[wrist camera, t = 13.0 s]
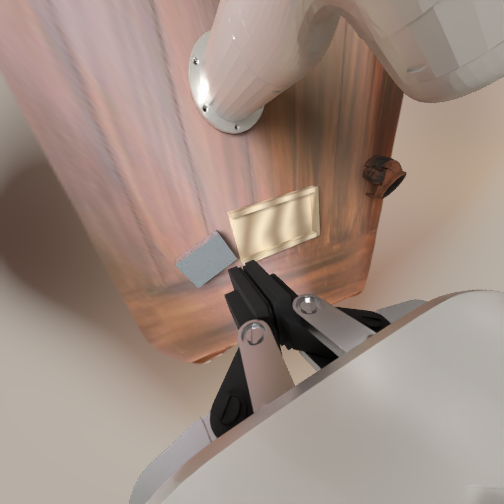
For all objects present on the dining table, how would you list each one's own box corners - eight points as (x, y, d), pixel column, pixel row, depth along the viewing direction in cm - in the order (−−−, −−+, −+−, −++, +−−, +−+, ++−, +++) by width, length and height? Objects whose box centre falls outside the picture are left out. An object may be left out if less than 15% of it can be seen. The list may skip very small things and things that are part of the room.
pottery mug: (386, 153, 49) (415, 168, 45) (361, 186, 55) (385, 201, 51) (366, 149, 42) (399, 166, 38) (340, 187, 48) (367, 205, 44)
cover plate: (215, 229, 38) (218, 233, 35) (233, 253, 41) (237, 258, 39) (174, 258, 37) (175, 265, 34) (196, 281, 40) (198, 288, 38)
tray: (311, 185, 42) (318, 186, 41) (313, 232, 48) (319, 235, 46) (227, 212, 37) (230, 214, 35) (240, 261, 42) (244, 265, 41)
